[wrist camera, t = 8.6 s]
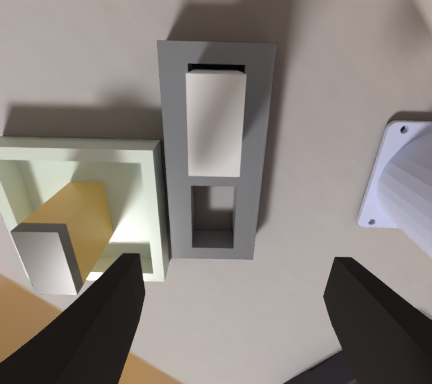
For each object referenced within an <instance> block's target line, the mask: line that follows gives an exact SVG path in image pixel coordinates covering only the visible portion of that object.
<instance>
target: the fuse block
mask: <svg viewBox="0 0 432 384" xmlns="http://www.w3.org/2000/svg"><path fill="white" fill-rule="evenodd" d="M157 48H158V63H159V77H160V91H161V106H162V120H163V134H164V148H165V163H166V177H167V191H168V206H169V220H170V234H171V249H172V258H199V259H246V260H253V254H254V245H255V236H256V227H257V218H258V209H259V200H260V191H261V182H262V173H263V164H264V156H265V147H266V138H267V129H268V120H269V111H270V102H271V93H272V84H273V75H274V66H275V57H276V48H277V43H244V42H204V41H164V40H157ZM191 63H192V64H233V65H242V73H244V74H246V89H245V104H244V119H243V133H242V148H241V162H240V177H216V176H189V174H188V138H187V103H186V73H188V72H190V71H192V69H191ZM194 186H233V187H235V189H234V205H233V222H232V231H219V230H194Z"/></svg>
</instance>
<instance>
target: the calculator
mask: <svg viewBox="0 0 432 384" xmlns="http://www.w3.org/2000/svg"><path fill="white" fill-rule="evenodd" d="M284 384H358V383H357V380H356V378H355V376H354V374H353V371H352V369H351V367H350V365H349V362H348V360H347V358H346V356H345V353H344V351H343V350H342V351H341V352H339V353H338V354H336V355H335V356H333V357H331V358H330V359H328V360H327V361H325V362H324V363H322V364H321V365H319V366H318V367H316V368H314V369H313V370H307V371H305V372H303V373H301V374H299V375H298V376H296V377H294V378H292V379H291V380H289V381H287V382H285V383H284Z"/></svg>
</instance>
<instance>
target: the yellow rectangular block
mask: <svg viewBox="0 0 432 384" xmlns="http://www.w3.org/2000/svg"><path fill="white" fill-rule="evenodd" d="M10 233H11V235H12V238H13V240H14V243H15V245H16V247H17V250H18V252H19V255H20V257H21V260H22V262H23V264H24V267H25V269H26V272H27V274H28V276H29V279H30V281H31V284H32V286H33V288H34V291H35V293H36V294H61V295H77V294H78V293H79V291H80V289H81V288H82V286H83V284H84V283H85V281H86V279H87V278H88V276H89V274H90V273H91V271H92V269H93V267H94V266H95V264H96V262H97V261H98V259H99V257H100V256H101V254H102V252H103V251H104V249H105V247H106V246H107V244H108V242H109V241H110V239H111V237H112V236H113V234H114V231H113V226H112V221H111V216H110V211H109V206H108V200H107V195H106V190H105V185H104V182H69V183H68V184H67V185H65V186H64V187H63V188H62V189H61V190H59V191H58V192H57V193H56V194H55V195H53V196H52V197H51V198H50V199H49V200H47V201H46V202H45V203H44V204H43V205H41V206H40V207H39V208H38V209H37V210H35V211H34V212H33V213H32V214H31V215H29V216H28V217H27V218H26V219H25V220H23V221H22V222H21V223H20V224H19V225H17V226H16V227H15V228H14V229H13V230H11V231H10Z"/></svg>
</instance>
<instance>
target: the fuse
mask: <svg viewBox="0 0 432 384" xmlns="http://www.w3.org/2000/svg"><path fill="white" fill-rule="evenodd" d="M245 89H246V74H244V73H242V72H240V71H239V70H237V69H198V68H197V69H194V70H192V71H190V72H188V73H186V103H187V138H188V174H189V176H216V177H240V162H241V148H242V133H243V119H244V104H245Z"/></svg>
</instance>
